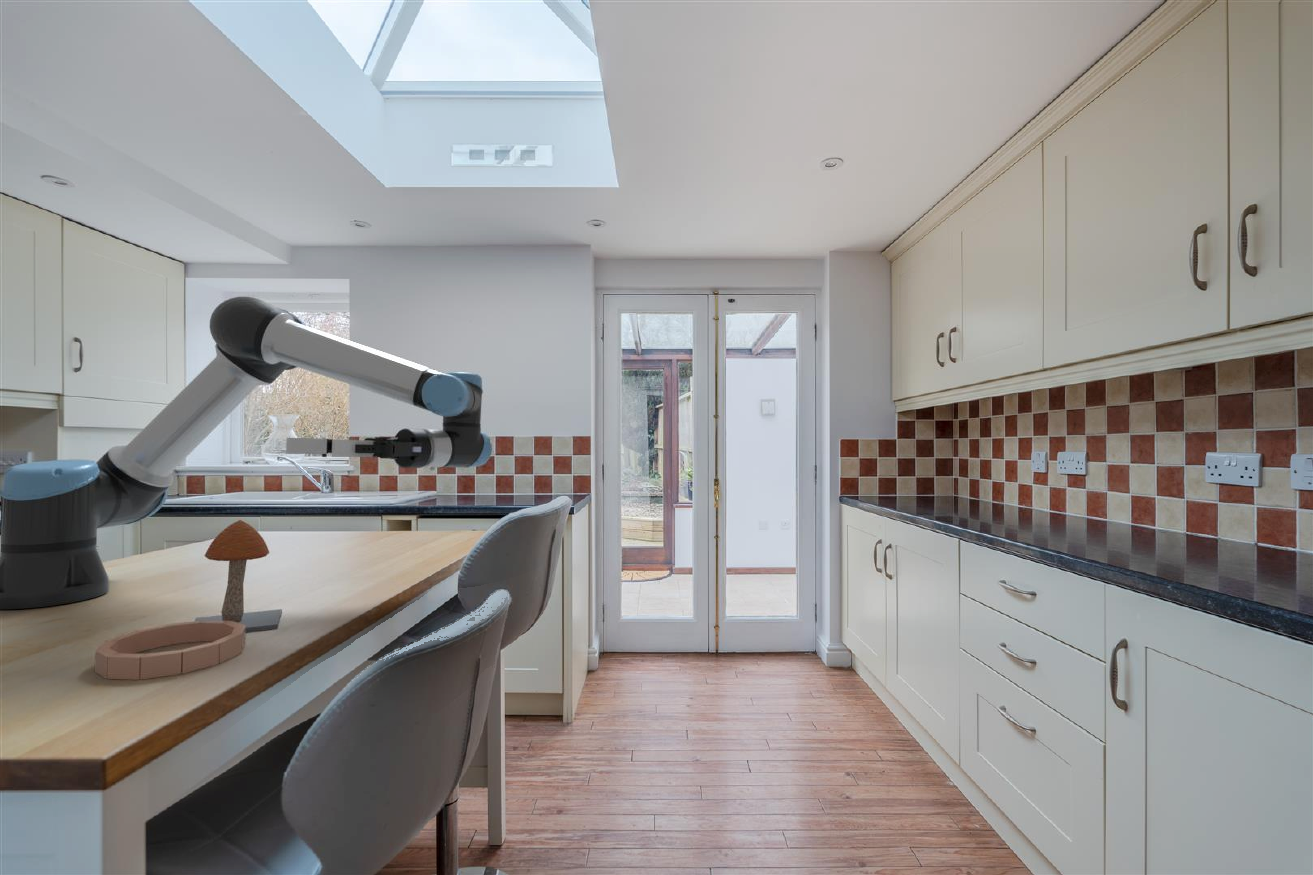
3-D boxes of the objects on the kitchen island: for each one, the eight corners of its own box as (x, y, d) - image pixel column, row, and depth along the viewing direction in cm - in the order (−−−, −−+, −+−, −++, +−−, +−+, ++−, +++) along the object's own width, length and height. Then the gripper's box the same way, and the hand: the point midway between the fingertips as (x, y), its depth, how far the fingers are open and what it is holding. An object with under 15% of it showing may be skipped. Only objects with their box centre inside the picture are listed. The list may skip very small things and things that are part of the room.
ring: (118, 648, 79) (118, 629, 79) (249, 632, 86) (250, 615, 86) (78, 687, 66) (78, 665, 67) (236, 666, 73) (236, 645, 73)
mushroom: (278, 618, 91) (279, 519, 91) (216, 632, 84) (218, 524, 84) (254, 610, 95) (256, 515, 95) (194, 622, 89) (196, 520, 89)
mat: (196, 621, 91) (196, 617, 91) (281, 612, 96) (282, 609, 96) (183, 639, 83) (183, 634, 83) (277, 628, 88) (277, 624, 88)
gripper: (464, 471, 110) (353, 473, 92) (380, 464, 123) (269, 466, 105) (465, 430, 110) (355, 424, 92) (382, 428, 123) (271, 423, 105)
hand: (309, 446), depth 98 cm, fingers open, 13 cm apart
